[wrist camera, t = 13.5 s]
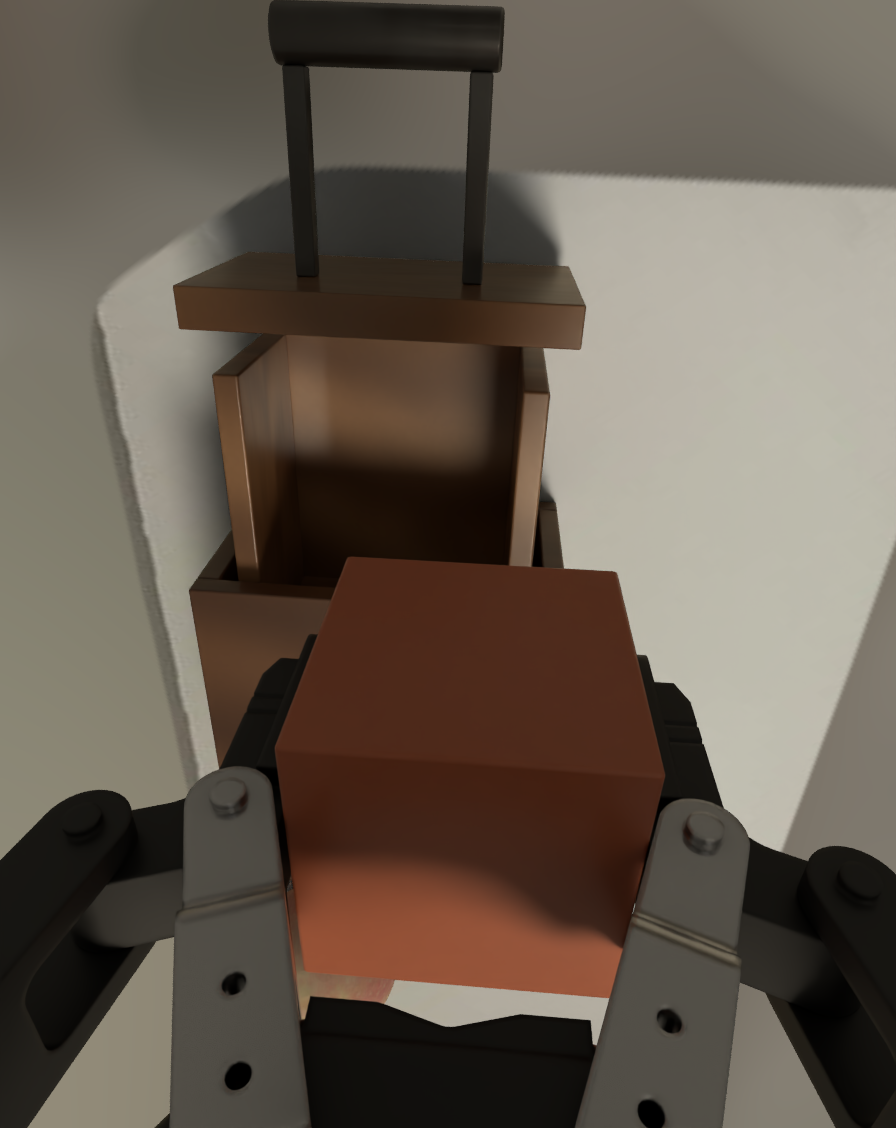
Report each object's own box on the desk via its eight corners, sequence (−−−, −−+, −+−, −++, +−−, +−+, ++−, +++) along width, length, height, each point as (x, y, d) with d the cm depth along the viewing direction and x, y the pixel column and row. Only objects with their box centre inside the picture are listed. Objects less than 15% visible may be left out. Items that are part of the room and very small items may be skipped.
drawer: (225, 18, 23) (126, -21, 17) (595, 30, 22) (624, -6, 17) (278, 575, 33) (228, 670, 27) (533, 592, 33) (538, 693, 27)
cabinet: (262, 483, 32) (187, 589, 24) (556, 501, 31) (570, 616, 24) (288, 736, 39) (236, 876, 32) (526, 754, 39) (529, 901, 31)
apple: (266, 902, 47) (223, 1036, 40) (299, 828, 43) (259, 961, 36) (384, 939, 48) (362, 1075, 41) (426, 870, 44) (411, 1007, 37)
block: (346, 554, 14) (272, 747, 9) (618, 570, 14) (667, 775, 9) (357, 751, 16) (302, 974, 12) (585, 767, 16) (612, 1000, 12)
